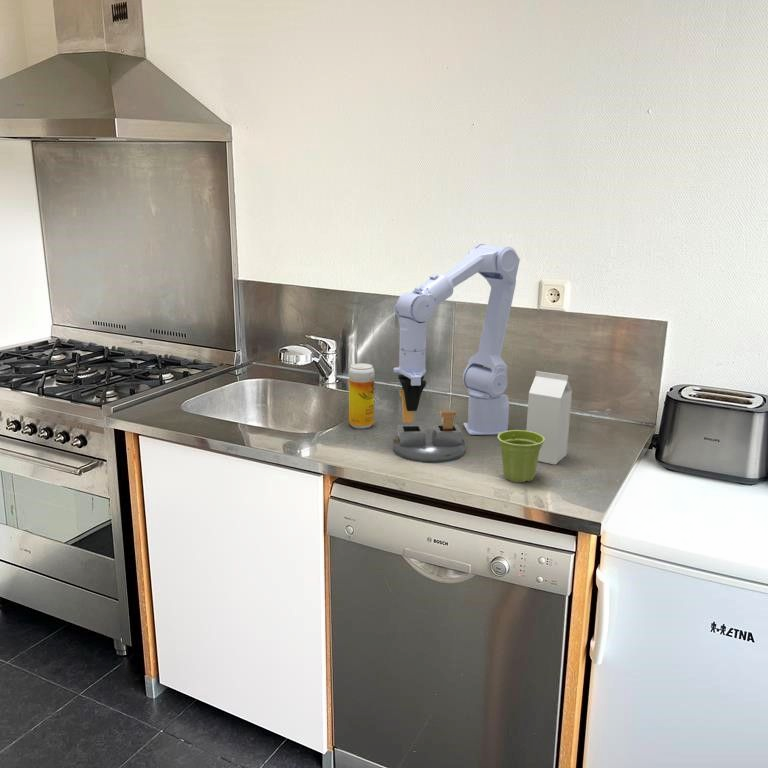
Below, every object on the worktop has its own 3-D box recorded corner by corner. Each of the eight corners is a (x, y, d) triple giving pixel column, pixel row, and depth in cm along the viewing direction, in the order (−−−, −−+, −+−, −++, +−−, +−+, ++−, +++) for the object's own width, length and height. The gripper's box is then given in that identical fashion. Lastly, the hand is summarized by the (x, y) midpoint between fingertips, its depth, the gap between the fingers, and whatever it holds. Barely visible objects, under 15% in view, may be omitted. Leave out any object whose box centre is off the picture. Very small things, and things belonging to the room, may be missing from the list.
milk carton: (555, 465, 163) (562, 379, 158) (524, 458, 166) (529, 374, 161) (566, 455, 168) (573, 372, 163) (536, 449, 172) (542, 367, 167)
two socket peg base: (457, 437, 179) (459, 400, 177) (471, 462, 164) (472, 422, 161) (389, 438, 178) (390, 401, 175) (396, 463, 162) (397, 423, 160)
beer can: (370, 430, 183) (371, 369, 179) (346, 428, 185) (346, 368, 181) (376, 422, 189) (376, 363, 185) (352, 420, 190) (352, 362, 186)
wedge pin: (414, 419, 170) (413, 389, 169) (415, 422, 168) (415, 391, 166) (400, 419, 170) (399, 389, 168) (401, 422, 168) (400, 392, 166)
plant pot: (489, 481, 154) (491, 440, 151) (502, 466, 162) (504, 427, 160) (535, 489, 150) (538, 447, 148) (546, 473, 158) (549, 433, 156)
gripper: (391, 341, 172) (390, 399, 175) (397, 356, 158) (396, 418, 161) (422, 341, 172) (420, 399, 176) (431, 356, 158) (429, 418, 162)
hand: (411, 408), depth 169 cm, fingers closed on wedge pin, 2 cm apart
